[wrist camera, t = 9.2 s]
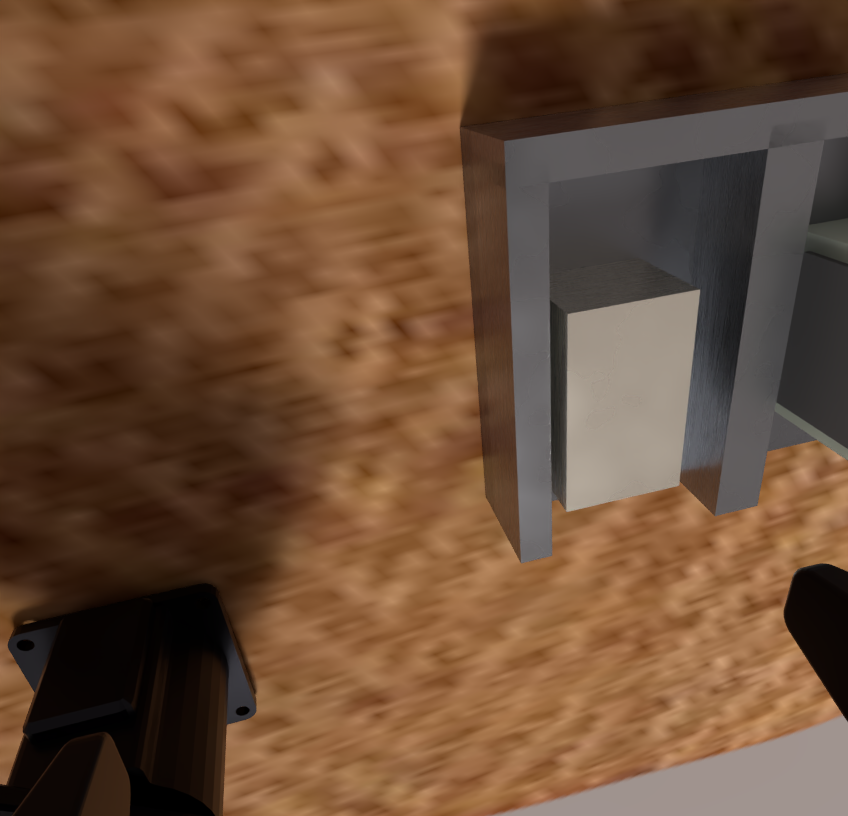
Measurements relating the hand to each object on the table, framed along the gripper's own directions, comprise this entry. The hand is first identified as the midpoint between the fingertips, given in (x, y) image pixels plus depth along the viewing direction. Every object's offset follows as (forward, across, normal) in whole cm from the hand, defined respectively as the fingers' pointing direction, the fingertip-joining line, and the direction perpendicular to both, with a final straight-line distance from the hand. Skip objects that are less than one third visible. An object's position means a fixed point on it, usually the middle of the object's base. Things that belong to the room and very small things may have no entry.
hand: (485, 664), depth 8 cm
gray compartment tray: (+12, -11, 0) cm, 16 cm away
